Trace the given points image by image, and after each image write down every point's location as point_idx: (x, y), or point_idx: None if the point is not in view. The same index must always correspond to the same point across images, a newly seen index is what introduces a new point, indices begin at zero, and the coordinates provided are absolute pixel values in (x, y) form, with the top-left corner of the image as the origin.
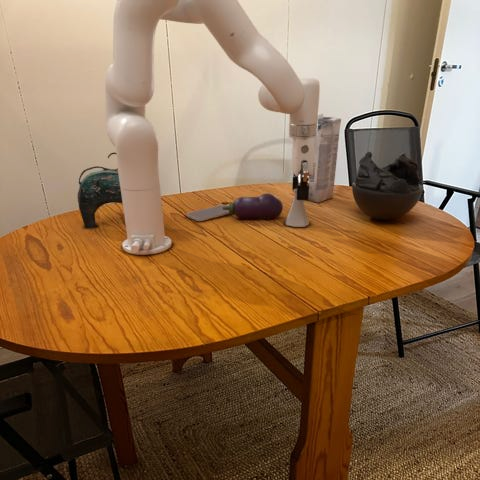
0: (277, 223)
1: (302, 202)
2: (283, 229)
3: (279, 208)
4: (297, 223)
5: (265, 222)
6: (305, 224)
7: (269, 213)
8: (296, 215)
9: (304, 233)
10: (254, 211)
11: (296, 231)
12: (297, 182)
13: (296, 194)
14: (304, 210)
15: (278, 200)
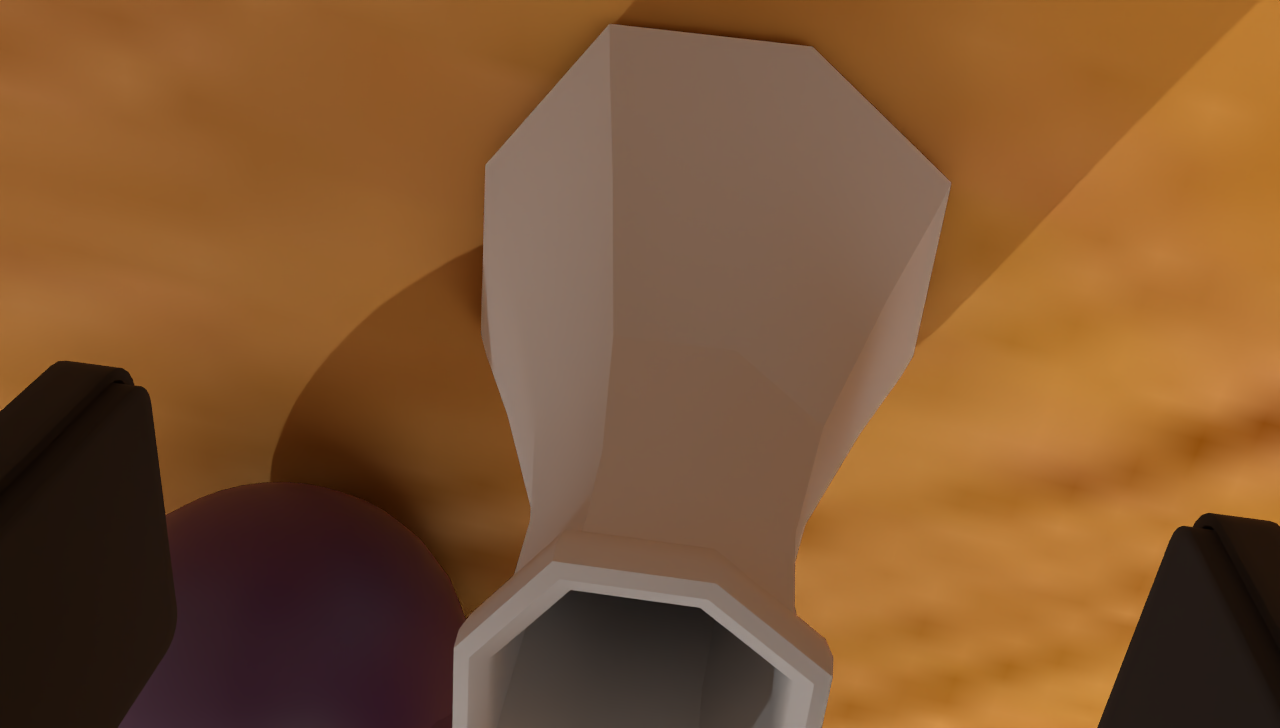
0: None
1: (780, 425)
2: (945, 530)
3: (417, 624)
4: (913, 335)
5: None
6: (916, 166)
7: None
8: (864, 419)
9: (1267, 262)
10: None
11: (1111, 366)
12: (33, 722)
13: (740, 718)
14: (798, 272)
15: (275, 719)
